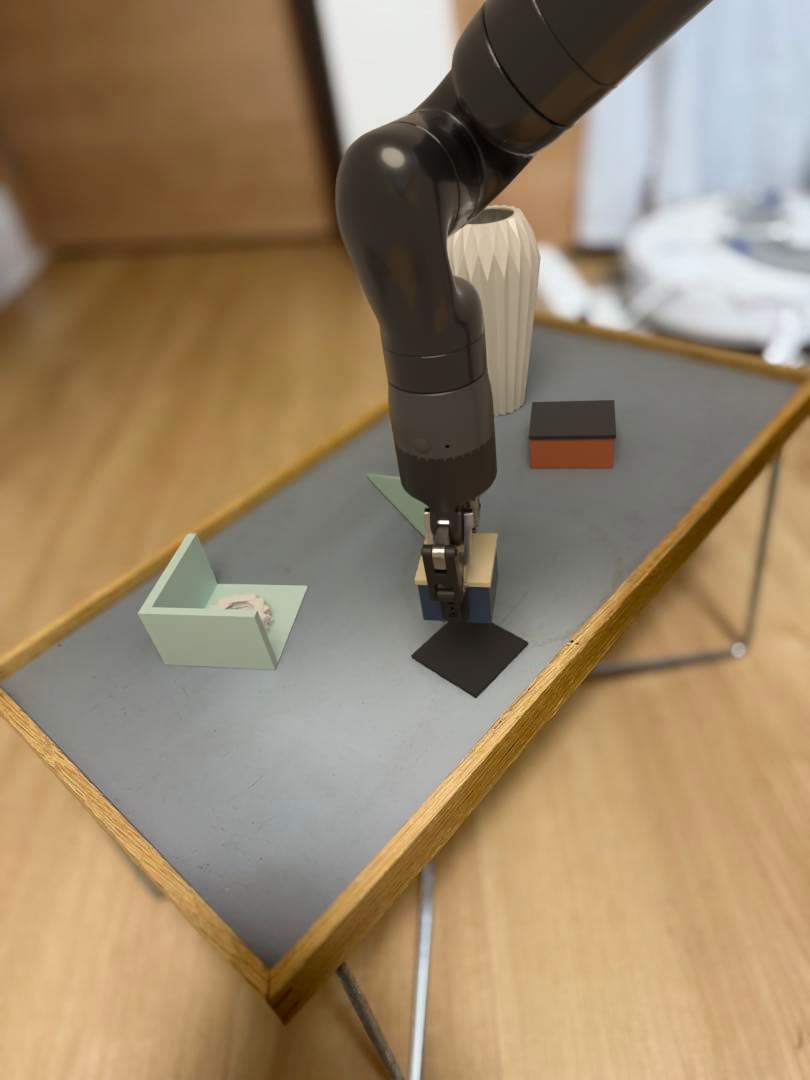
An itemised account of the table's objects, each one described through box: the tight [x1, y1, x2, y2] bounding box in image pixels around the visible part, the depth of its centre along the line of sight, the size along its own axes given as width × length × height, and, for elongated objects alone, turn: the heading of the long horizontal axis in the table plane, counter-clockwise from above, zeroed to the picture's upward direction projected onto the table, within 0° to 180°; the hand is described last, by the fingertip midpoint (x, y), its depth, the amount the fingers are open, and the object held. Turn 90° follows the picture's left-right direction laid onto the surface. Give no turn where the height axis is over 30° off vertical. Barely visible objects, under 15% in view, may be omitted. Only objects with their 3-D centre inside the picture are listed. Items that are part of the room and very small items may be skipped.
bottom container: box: [527, 399, 617, 469], centre depth 90 cm, size 10×8×5 cm
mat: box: [410, 621, 529, 699], centre depth 67 cm, size 8×8×1 cm
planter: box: [366, 473, 481, 538], centre depth 86 cm, size 8×6×18 cm
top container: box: [414, 532, 499, 623], centre depth 61 cm, size 6×6×5 cm
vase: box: [447, 204, 542, 418], centre depth 95 cm, size 13×13×26 cm
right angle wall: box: [137, 532, 309, 671], centre depth 73 cm, size 12×12×8 cm
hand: (461, 589), depth 62 cm, fingers closed on top container, 6 cm apart
